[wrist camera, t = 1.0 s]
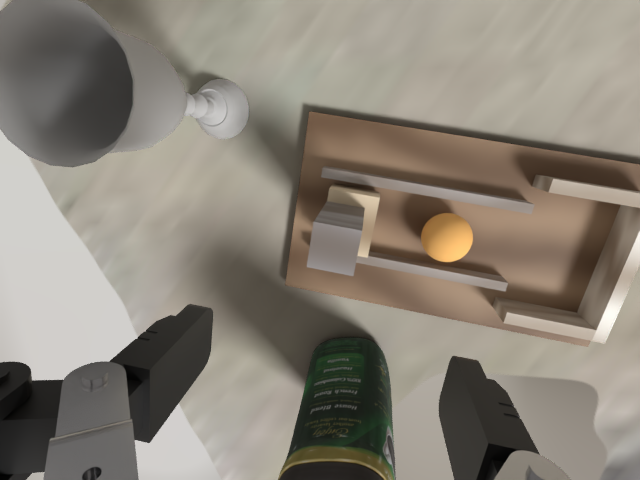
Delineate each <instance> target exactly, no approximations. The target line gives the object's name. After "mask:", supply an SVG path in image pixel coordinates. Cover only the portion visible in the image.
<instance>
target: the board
mask: <svg viewBox="0 0 640 480" xmlns="http://www.w3.org/2000/svg"><path fill="white" fill-rule="evenodd" d="M332 184H338V185H344V186H350V187H355V188H361V189H366V190H372V191H378V192H380V201H379V205H378V210H377V215H376V220H375V225H374V229H373V234H372V239H371V244H370V249H369V254H368V258H366V257H360V256H357V260H356V265H355V270H354V275H353V276H349V275H344V274H339V273H334V272H329V271H324V270H319V269H314V268H309V267H307V261H308V255H309V248H310V242H311V235H312V229H313V222H314V220H315V219H316V217H317V216H318V214H319V213H320V211H321V210H322V208H323V207H324V205H325V204H326V202H327V199H328V193H329V188H330V187H331V186H332ZM442 213H452V214H456V215H458V216H460V217H462V218H463V219H465V220H466V221H467V223H468V224H469V225H470V227H471V229H472V233H473V242H472V245H471V248H470V250H469V251H468V253H467V254H466V255H465V256H463V257H462V258H461V259H459V260H456V261H453V262H441V261H438V260H435V259H434V258H432V257H431V256H429V255H428V254H427V252H426V251H425V250H424V248H423V246H422V242H421V234H422V230H423V227H424V226H425V224H426V223H427V221H428V220H430V219H431V218H432V217H434V216H436V215H438V214H442ZM639 266H640V165H639V164H633V163H627V162H621V161H614V160H608V159H602V158H596V157H590V156H583V155H577V154H571V153H565V152H559V151H552V150H546V149H540V148H534V147H527V146H521V145H515V144H509V143H503V142H496V141H490V140H484V139H478V138H472V137H465V136H459V135H453V134H447V133H441V132H434V131H428V130H422V129H416V128H409V127H403V126H397V125H391V124H385V123H378V122H372V121H366V120H360V119H354V118H347V117H341V116H335V115H329V114H322V113H316V112H310V111H309V117H308V124H307V132H306V139H305V146H304V153H303V160H302V168H301V175H300V182H299V189H298V196H297V204H296V211H295V218H294V225H293V232H292V240H291V247H290V254H289V261H288V268H287V276H286V283H285V285H287V286H291V287H296V288H301V289H306V290H311V291H316V292H321V293H326V294H331V295H336V296H341V297H346V298H350V299H355V300H360V301H365V302H370V303H375V304H380V305H385V306H390V307H395V308H400V309H404V310H409V311H414V312H419V313H424V314H429V315H434V316H439V317H444V318H449V319H454V320H459V321H463V322H468V323H473V324H478V325H483V326H488V327H493V328H498V329H503V330H508V331H513V332H518V333H522V334H527V335H532V336H537V337H542V338H547V339H552V340H557V341H562V342H567V343H572V344H576V345H581V346H586V347H588V345H589V343H590V341H595V342H600V343H605V342H606V340H607V337H608V335H609V333H610V331H611V328H612V326H613V324H614V322H615V319H616V317H617V315H618V313H619V311H620V308H621V306H622V304H623V302H624V299H625V297H626V295H627V293H628V290H629V288H630V286H631V284H632V281H633V279H634V277H635V275H636V272H637V270H638V268H639Z"/></svg>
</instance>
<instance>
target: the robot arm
mask: <svg viewBox="0 0 640 480" xmlns="http://www.w3.org/2000/svg"><path fill="white" fill-rule="evenodd" d="M212 323H213V311H212V309H211V308H208V307H203V306H197V305H192V304H189V305H187V306H186V307H185V308H184V309H183V310H182V311H181V312H180V313H179V314H177V315H176V316H172V315H170V316H168V317H165V318H163V319H161V320H158V321H156V322H155V323H154V324H153V325H151V326H150V327H149V328H148V329H147V330H146V332H143V333H142V334H141V335H140V336H139V337H138V339H135V340H134V341H133V342H132V343H130V344H129V345H128V346H127V347H126V348H125V349H123V350H122V351H121V352H120V353H119V354H117V356H115V357H114V358H113V359H112V360H110V362H95V363H90V364H87V365H84V366H81V367H79V368H77V369H75V370H74V371H72V372H71V373H70V374H68V375H67V376H66V377H65V379H64V380H38V381H32V377H31V369H30V368H29V366H27V365H26V364H23V363H20V362H2V363H0V480H26V479H27V478H28V477H29V476H30V475H31V474H32V473H35V472H45V473H44V480H138V471H137V461H136V451H135V442H134V440H138V441H143V442H147V443H150V442H151V440H152V439H153V437H154V436H155V435H156V433H157V432H158V431H159V429H160V428H161V426H162V425H163V424H164V422H165V421H166V420H167V418H168V417H169V416H170V414H171V413H172V411H173V410H174V408H175V407H176V406H177V405H178V403H179V402H180V400H181V399H182V398H183V396H184V395H185V394H186V392H187V391H188V389H189V388H190V387H191V385H192V384H193V383H194V381H195V380H196V378H197V377H198V376H199V374H200V373H201V372H202V370H203V369H204V367H205V366H206V364H207V362H208V359H209V356H210V352H211V340H212ZM439 417H440V421H441V425H442V430H443V434H444V438H445V442H446V446H447V451H448V455H449V459H450V463H451V467H452V472H453V476H454V480H571V479H570V478H569V476H568V475H567V474H566V473H565V472H564V471H563V470H562V469H561V468H560V467H558V466H557V465H556V464H555V463H553V462H552V461H550V460H549V459H547V458H545V457H543V456H541V455H540V454H539V452H538V450H537V448H536V447H535V445H534V443H533V441H532V439H531V437H530V435H529V433H528V432H527V430H526V428H525V426H524V424H523V422H522V420H521V419H520V418H519V417H520V416H519V414H518V413H517V411H516V409H515V408H514V405H513V403H512V401H511V399H510V397H509V395H508V393H507V392H506V391H505V390H504V389H503V388H502V387H501V386H500V385H499V384H498V383H497V382H496V381H495V380H491V379H487V378H486V376H485V374H484V371H483V369H482V367H481V365H480V363H479V361H477V360H473V359H468V358H462V357H457V356H452V358H451V360H450V362H449V366H448V369H447V373H446V377H445V380H444V384H443V388H442V391H441V395H440V400H439Z"/></svg>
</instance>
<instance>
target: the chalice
mask: <svg viewBox="0 0 640 480" xmlns="http://www.w3.org/2000/svg"><path fill="white" fill-rule="evenodd" d="M188 115H190V116H192V117H194V118H195V119H196V120H197V122H198V123H199V125H200V126H201V128H202V129H203V130H204V131H205V132H206V133H207V134H208V135H211V136H213V137H215V138H219V139H228V138H232V137H234V136H236V135H237V134H239V133H240V132H241V131H242V130H243V128H244V127H245V126H246V123H247V120H248V118H249V105H248V101H247V98H246V96H245V94H244V93H243V91H242V90H241V89H240V88H239V87H238V86H237V85H236V84H235V83H233V82H231V81H229V80H226V79H215V80H211V81H209V82H207V83H206V84H204V85H203V86H202V87H201V88H200V90H198V92H197V93H196V94H192V95H190V94H189V93H186V92H185V89H184V85H183V82H182V80H181V78H180V77H179V75H178V73H177V72H176V70H175V69H174V67H173V66H172V65H171V63H170V62H169V61H168V59H167V58H166V56H164V55H163V54H162V53H161V52H160V51H159V50H158V49H156V48H155V47H154V46H153V45H152V44H150V43H148V42H145V41H143V40H141V39H138V38H136V37H133V36H131V35H128V34H126V33H123V32H121V31H118V30H116V29H113V28H112V27H111V25H110V24H109V23H108V22H107V21H106V20H105V19H104V18H103V17H101V16H100V15H99V14H98V13H97V12H96V11H94V10H93V9H92V8H91V7H90V6H89V5H87V4H86V3H84V2H81V1H79V0H13V1H11V2H10V3H9V4H8V5H7V6H6V7H5V8H4V9H3V10H1V11H0V129H1V130H2V132H3V133H4V135H5V136H6V137H7V139H8V140H9V141H10V142H12V143H13V144H14V145H15V146H17V147H18V148H19V149H20V150H22V151H23V152H24V153H25V154H26V155H28V156H30V157H32V158H34V159H37V160H39V161H42V162H44V163H46V164H49V165H53V166H64V167H76V166H80V165H84V164H88V163H92V162H95V161H96V160H98V159H99V158H101V157H102V156H104V155H105V154H107V153H114V152H126V151H137V150H141V149H146V148H150V147H152V146H154V145H155V144H157V143H158V142H160V141H161V140H163V139H164V138H166V137H167V136H168V135H169V134H171V133H172V132H173V131H174V130H175V129H176V127H177V126H178V125H179V123H180V122H181V121H182V119H183V116H188Z"/></svg>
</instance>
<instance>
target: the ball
mask: <svg viewBox="0 0 640 480" xmlns="http://www.w3.org/2000/svg"><path fill="white" fill-rule="evenodd" d="M421 242H422V246H423V248H424V250H425V251H426V252H427V254H428V255H429V256H431V257H432V258H434V259H435V260H438V261H441V262H453V261H456V260H459V259H461V258H462V257H463V256H465V255H466V254H467V253H468V251H469V250H470V248H471V245H472V242H473V233H472V229H471V227H470V225H469V224H468V223H467V221H466V220H465V219H463V218H462V217H460V216H458V215H456V214H452V213H442V214H438V215H436V216H434V217H432V218H431V219H430V220H428V221H427V223H426V224H425V226H424V227H423V230H422V234H421Z"/></svg>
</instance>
